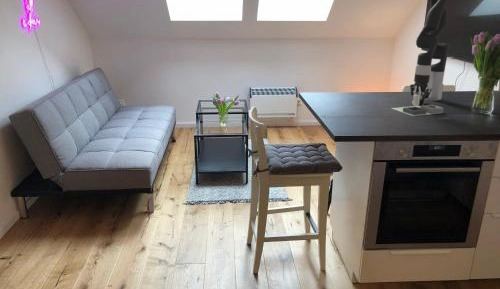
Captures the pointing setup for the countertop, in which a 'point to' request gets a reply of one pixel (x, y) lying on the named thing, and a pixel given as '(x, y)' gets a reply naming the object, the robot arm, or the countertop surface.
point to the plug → (416, 99)
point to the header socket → (414, 110)
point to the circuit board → (429, 109)
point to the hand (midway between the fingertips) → (418, 104)
